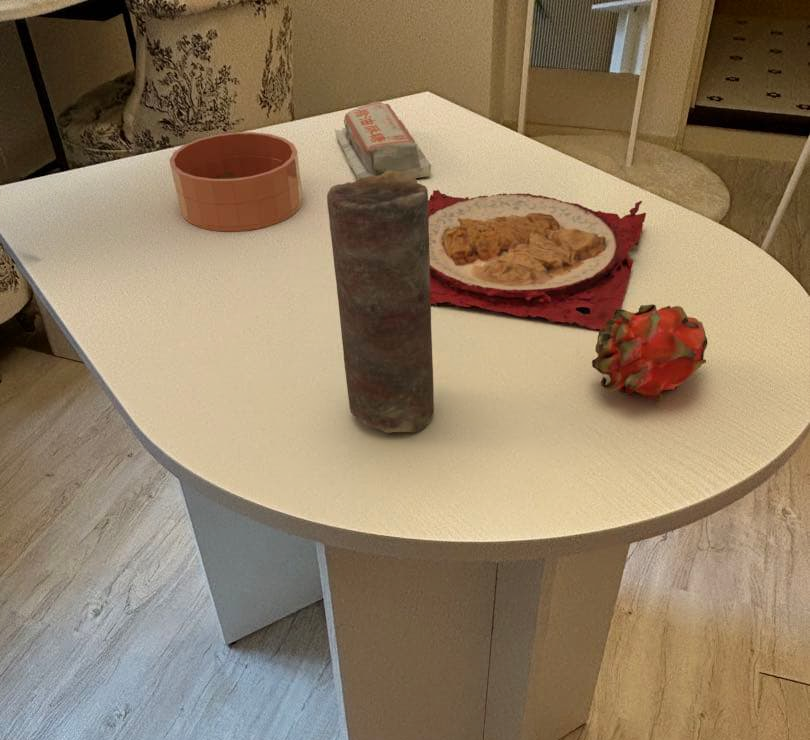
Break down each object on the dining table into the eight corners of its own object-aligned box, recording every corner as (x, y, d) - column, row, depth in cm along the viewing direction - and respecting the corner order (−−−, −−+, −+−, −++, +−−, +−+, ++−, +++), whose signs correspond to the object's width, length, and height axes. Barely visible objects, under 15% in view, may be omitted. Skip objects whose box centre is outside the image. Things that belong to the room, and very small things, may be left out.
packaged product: (433, 139, 101) (356, 148, 100) (433, 178, 105) (359, 187, 103) (400, 94, 113) (331, 101, 112) (401, 130, 117) (334, 138, 115)
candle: (348, 443, 67) (326, 207, 53) (345, 391, 72) (325, 164, 58) (438, 436, 67) (440, 201, 53) (429, 386, 72) (429, 158, 58)
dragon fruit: (574, 415, 72) (675, 395, 76) (638, 409, 64) (747, 387, 69) (562, 318, 70) (666, 304, 75) (626, 301, 62) (738, 286, 67)
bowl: (155, 211, 100) (143, 161, 95) (242, 171, 108) (235, 123, 103) (241, 243, 93) (231, 191, 89) (326, 198, 101) (322, 148, 97)
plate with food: (434, 205, 100) (434, 177, 97) (644, 225, 93) (649, 195, 91) (369, 301, 84) (366, 270, 82) (614, 332, 78) (619, 301, 75)
